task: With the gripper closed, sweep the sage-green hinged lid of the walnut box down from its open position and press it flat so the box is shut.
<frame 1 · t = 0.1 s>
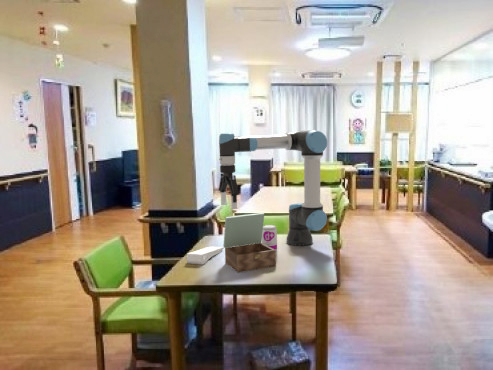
hand: (228, 206, 219), 28 cm above the table, tool pointing down, fingers open, 13 cm apart
supplement can: (269, 254, 233), on the table
white rectangular bar: (206, 257, 231), on the table
lid: (243, 230, 219), point 16 cm above the table, hinge at 75.0°
walnut box: (250, 264, 215), on the table
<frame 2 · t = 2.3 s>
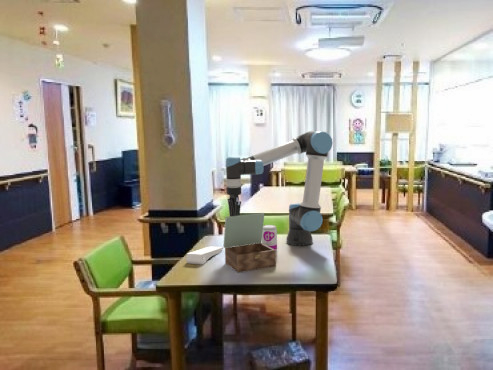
hand: (234, 231, 229), 13 cm above the table, tool pointing down, fingers closed
nothing on the table moved.
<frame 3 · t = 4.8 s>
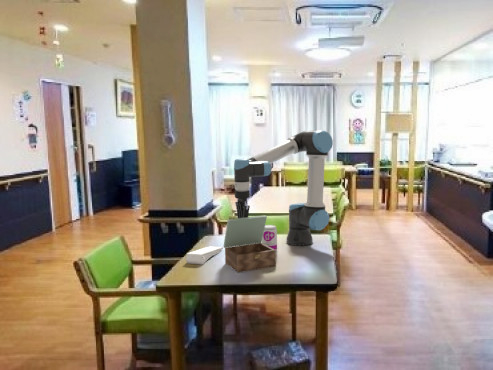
hand: (242, 235, 220), 13 cm above the table, tool pointing down, fingers closed
lid: (245, 231, 217), point 16 cm above the table, hinge at 64.8°, touching gripper
everything else where it was.
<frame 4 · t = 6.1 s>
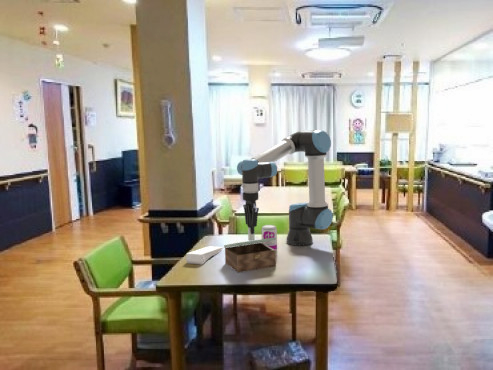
hand: (251, 240, 211), 13 cm above the table, tool pointing down, fingers closed
lid: (249, 242, 214), point 11 cm above the table, hinge at 17.1°
everything else where it was.
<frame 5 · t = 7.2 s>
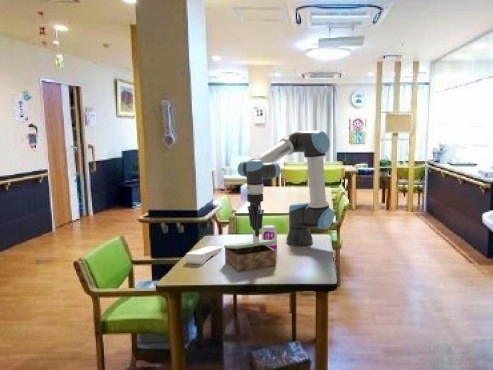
hand: (256, 242, 206), 13 cm above the table, tool pointing down, fingers closed
lid: (249, 244, 214), point 10 cm above the table, hinge at 12.1°, touching gripper
everything else where it was.
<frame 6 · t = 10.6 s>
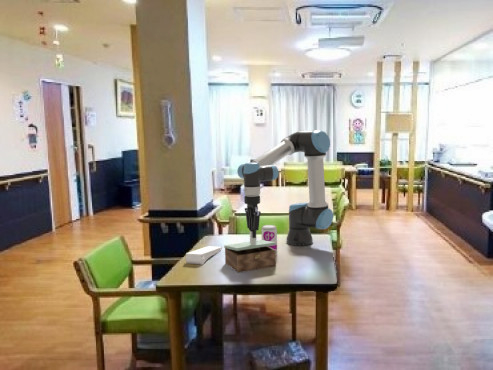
hand: (253, 243, 209), 12 cm above the table, tool pointing down, fingers closed
lid: (249, 245, 214), point 10 cm above the table, hinge at 8.7°, touching gripper
everything else where it was.
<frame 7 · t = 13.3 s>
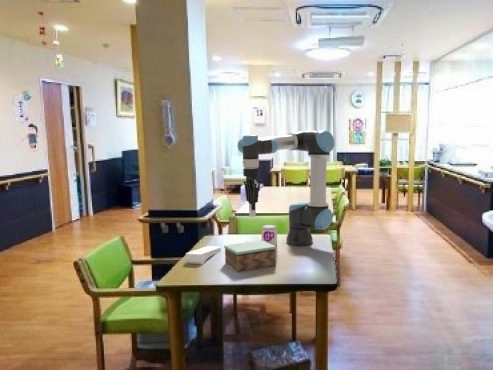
hand: (252, 216, 211), 24 cm above the table, tool pointing down, fingers closed
lid: (250, 247, 213), point 9 cm above the table, hinge at 2.1°
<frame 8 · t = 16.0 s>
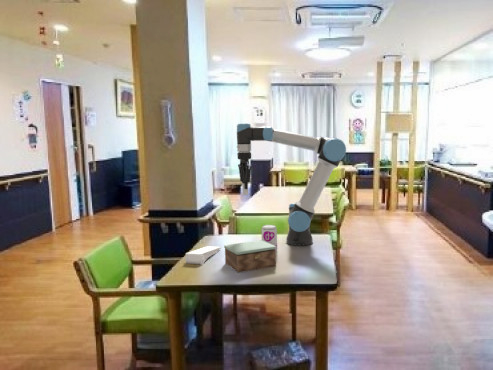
hand: (245, 194, 241), 30 cm above the table, tool pointing down, fingers closed
at the end: lid at +2° (first picture: +75°); supplement can moved 0.2 cm from its start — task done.
